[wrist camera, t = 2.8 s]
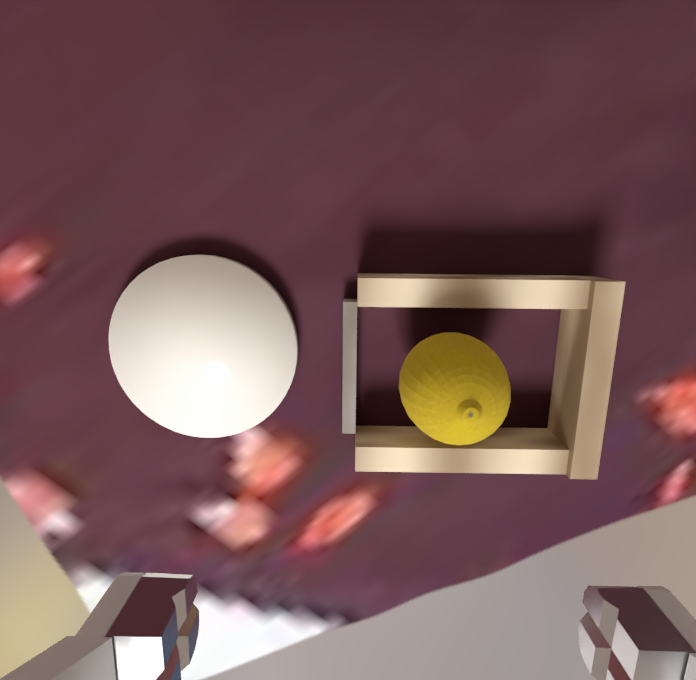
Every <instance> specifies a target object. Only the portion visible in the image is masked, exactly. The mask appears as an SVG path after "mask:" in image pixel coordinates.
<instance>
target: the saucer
mask: <svg viewBox="0 0 696 680" xmlns="http://www.w3.org/2000/svg"><path fill="white" fill-rule="evenodd" d="M298 350H299V346H298V335H297V331H296V326H295V323H294V320H293V317H292V314H291V312H290V310H289V308H288V306H287V304H286V302H285V301H284V299H283V298H282V297H281V295H280V294H279V292H278V291H277V290H276V289H275V288H274V287H273V285H272V284H271V283H270V282H269V281H267V280H266V279H265V278H264V277H263V276H262V275H260V274H259V273H258V272H256V271H255V270H253V269H252V268H250V267H248V266H246V265H244V264H242V263H240V262H238V261H235V260H232V259H229V258H226V257H221V256H216V255H205V254H199V255H186V256H180V257H175V258H171V259H168V260H165V261H162V262H159V263H157V264H155V265H153V266H151V267H149V268H148V269H146V270H145V271H144V272H142V273H141V274H139V275H138V276H137V277H136V278H135V279H134V280H133V281H132V282H131V283H130V284H129V285H128V287H127V288H126V289H125V290H124V292H123V293H122V295H121V297H120V298H119V300H118V302H117V304H116V306H115V309H114V311H113V314H112V318H111V322H110V328H109V352H110V357H111V362H112V365H113V368H114V372H115V374H116V376H117V379H118V381H119V383H120V385H121V386H122V388H123V390H124V391H125V393H126V394H127V396H128V397H129V398H130V399H131V401H132V402H133V403H134V404H135V405H136V406H137V407H138V408H139V409H140V410H141V411H142V412H143V413H144V414H146V415H147V416H148V417H149V418H151V419H152V420H154V421H155V422H157V423H158V424H160V425H162V426H164V427H166V428H168V429H170V430H172V431H175V432H178V433H181V434H184V435H189V436H194V437H204V438H214V437H224V436H230V435H234V434H237V433H240V432H243V431H245V430H248V429H250V428H252V427H254V426H255V425H257V424H259V423H260V422H262V421H263V420H264V419H265V418H267V417H268V416H269V415H270V414H271V413H272V412H273V411H274V410H275V409H276V408H277V407H278V406H279V404H280V403H281V401H282V400H283V398H284V397H285V395H286V393H287V391H288V389H289V387H290V385H291V383H292V380H293V377H294V374H295V371H296V367H297V362H298Z"/></svg>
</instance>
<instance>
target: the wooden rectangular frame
mask: <svg viewBox="0 0 696 680" xmlns="http://www.w3.org/2000/svg"><path fill="white" fill-rule="evenodd" d="M624 289H625V282H624V281H618V280H613V279H607V278H601V277H596V276H579V275H480V274H382V273H358V276H357V299H343V398H342V433H348V434H355V471H372V472H440V473H508V474H566V475H567V476H568V477H569V478H570V479H597V476H598V469H599V463H600V456H601V449H602V442H603V435H604V428H605V421H606V414H607V407H608V400H609V393H610V386H611V379H612V372H613V365H614V358H615V351H616V344H617V337H618V330H619V323H620V317H621V310H622V303H623V296H624ZM357 305H358V307H427V308H518V309H561V313H560V322H559V330H558V339H557V348H556V357H555V366H554V374H553V383H552V392H551V401H550V409H549V418H548V427H547V428H498V429H497V430H496V431H495V432H494V433H493V434H491V435H490V436H488V437H487V438H485V439H484V440H481V441H479V442H476V443H473V444H467V445H452V444H446V443H443V442H440V441H437V440H435V439H433V438H431V437H430V436H428V435H427V434H425V433H424V432H422V431H421V430H420V429H419V428H418V427H417V426H356V363H357Z"/></svg>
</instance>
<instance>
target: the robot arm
mask: <svg viewBox="0 0 696 680" xmlns="http://www.w3.org/2000/svg"><path fill="white" fill-rule="evenodd" d="M197 592H198V591H197V580H196V577H195V576H194V575H180V574H161V573H133V572H123V573H121V574H119V575H118V576H117V577H116V578H115V580H114V581H113V582H112V584H111V585H110V587H109V588H108V590H107V591H106V592H105V594H104V595H103V597H102V598H101V600H100V601H99V602H98V604H97V605H96V607H95V608H94V610H93V611H92V613H91V614H90V615H89V617H88V618H87V620H86V621H85V623H84V624H83V625H82V627H81V628H80V630H79V631H78V633H77V634H76V635H75V636H67V637H65V638H64V639H62V640H61V641H59V642H58V643H56V644H54V645H53V646H51V647H50V648H48V649H47V650H45V651H43V652H42V653H40V654H39V655H37V656H36V657H34V658H32V659H31V660H30V661H28V662H26V663H25V664H23V665H21V666H20V667H18V668H17V669H15V670H14V671H12V672H10V673H9V674H7V675H6V676H4V677H3V678H1V679H0V680H181V670H183V669H184V668H185V667H186V666H187V665H188V664H190V661H191V658H192V656H193V653H194V650H195V646H196V641H197V636H198V629H199V610H198V609H197V608H196V606H195V605H194V604H193V601H194V599H195V597H196V594H197ZM583 604H584V605H585V607H586V609H587V610H588V613H587V614H586V615H585V616H584V617H583V618H582V619H581V620H580V622H579V631H578V637H579V645H580V651H581V654H582V656H583V659H584V662H585V664H586V666H587V668H588V670H589V672H590V674H591V675H592V676H594V677H595V678H596V679H597V680H696V620H695V619H694V617H693V616H692V615H691V614H690V613H689V612H688V611H687V610H686V609H685V607H684V606H683V605H682V604H681V603H680V602H679V601H678V600H677V598H676V597H675V596H674V595H673V594H672V593H671V592H670V591H669V590H668V589H666V588H664V587H662V586H637V587H621V586H588V587H587V589H586V590H585V592H584V597H583Z"/></svg>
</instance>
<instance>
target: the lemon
mask: <svg viewBox="0 0 696 680" xmlns="http://www.w3.org/2000/svg"><path fill="white" fill-rule="evenodd" d="M399 391H400V396H401V401H402V404H403V406H404V408H405V410H406V412H407V414H408V416H409V418H410V419H411V420H412V421H413V422H414V423H415V425H416V426H417V427H418V428H419V429H420V430H421V431H422V432H424V433H425V434H427V435H428V436H430V437H431V438H433V439H435V440H437V441H440V442H443V443H446V444H452V445H467V444H473V443H476V442H479V441H481V440H484V439H485V438H487V437H488V436H490V435H491V434H493V433H494V432H495V431H496V430H497V429H498V428H499V427H500V426H501V424H502V422H503V421H504V419H505V417H506V415H507V413H508V409H509V406H510V402H511V386H510V382H509V378H508V375H507V371H506V369H505V367H504V365H503V364H502V362H501V360H500V359H499V357H498V355H497V354H496V353H495V352H494V351H493V350H492V349H491V348H490V347H488V346H487V345H486V344H485V343H484V342H482V341H480V340H478V339H476V338H474V337H472V336H470V335H466V334H462V333H457V332H444V333H440V334H436V335H432V336H430V337H428V338H426V339H424V340H422V341H421V342H419V343H418V344H417V345H416V346H415V347H414V348H413V349H412V350H411V351H410V352H409V354H408V355H407V357H406V358H405V360H404V363H403V365H402V368H401V371H400V378H399Z"/></svg>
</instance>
